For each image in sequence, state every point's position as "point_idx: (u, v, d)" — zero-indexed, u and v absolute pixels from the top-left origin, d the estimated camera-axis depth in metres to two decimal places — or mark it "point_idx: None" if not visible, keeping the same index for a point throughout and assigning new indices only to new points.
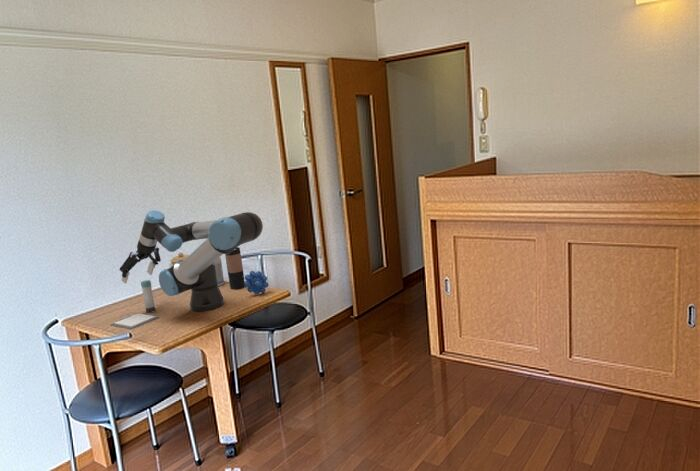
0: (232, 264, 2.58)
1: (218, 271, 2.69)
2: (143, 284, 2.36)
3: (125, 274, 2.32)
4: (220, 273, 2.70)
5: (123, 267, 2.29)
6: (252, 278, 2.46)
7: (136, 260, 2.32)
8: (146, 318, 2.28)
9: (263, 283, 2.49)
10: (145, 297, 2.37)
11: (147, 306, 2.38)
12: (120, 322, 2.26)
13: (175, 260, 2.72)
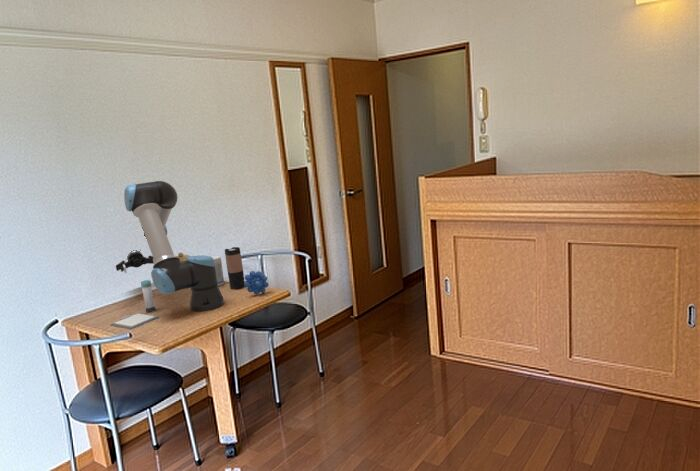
0: (232, 264, 2.58)
1: (218, 271, 2.69)
2: (143, 284, 2.36)
3: (121, 266, 2.46)
4: (220, 273, 2.70)
5: None
6: (252, 278, 2.46)
7: None
8: (146, 318, 2.28)
9: (263, 283, 2.49)
10: (145, 297, 2.37)
11: (147, 306, 2.38)
12: (120, 322, 2.26)
13: None
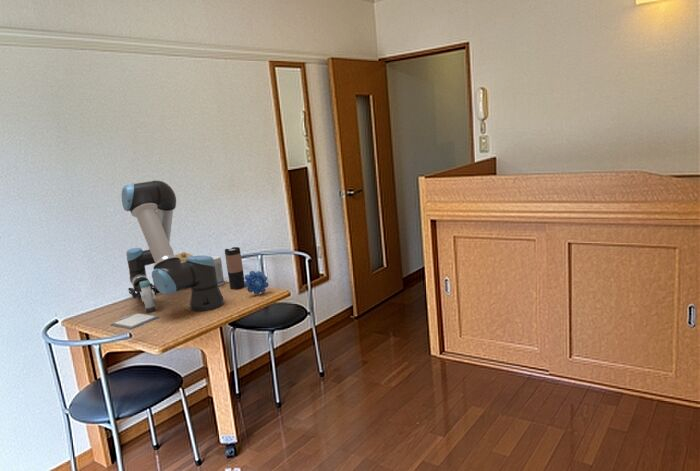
0: (232, 264, 2.58)
1: (218, 271, 2.69)
2: (142, 284, 2.35)
3: (139, 294, 2.38)
4: (220, 273, 2.70)
5: (132, 294, 2.40)
6: (252, 278, 2.46)
7: (138, 289, 2.45)
8: (146, 318, 2.28)
9: (263, 283, 2.49)
10: (144, 297, 2.37)
11: (147, 306, 2.38)
12: (120, 322, 2.26)
13: None
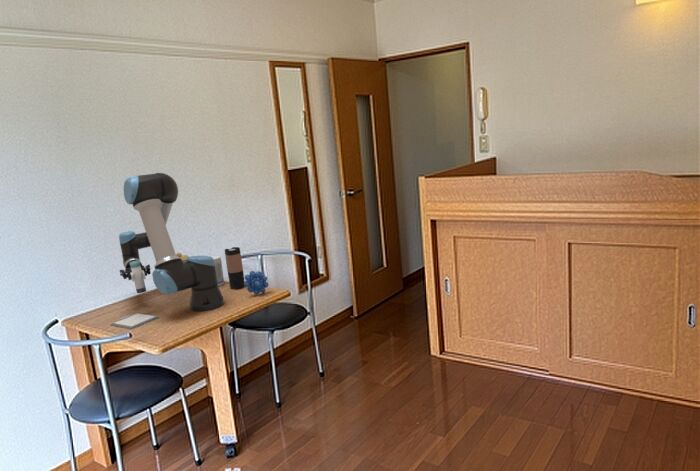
0: (232, 264, 2.58)
1: (218, 271, 2.69)
2: (132, 264, 2.31)
3: (129, 274, 2.33)
4: (220, 273, 2.70)
5: (122, 275, 2.35)
6: (252, 278, 2.46)
7: None
8: (146, 318, 2.28)
9: (263, 283, 2.49)
10: (135, 277, 2.32)
11: (137, 287, 2.33)
12: (120, 322, 2.26)
13: None
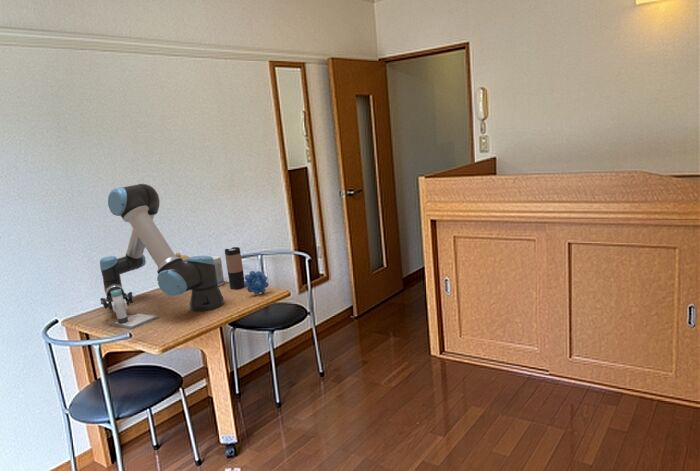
0: (232, 264, 2.58)
1: (218, 271, 2.69)
2: (113, 293, 2.21)
3: (110, 304, 2.23)
4: (220, 273, 2.70)
5: (103, 304, 2.26)
6: (252, 278, 2.46)
7: None
8: (146, 318, 2.28)
9: (263, 283, 2.49)
10: (116, 307, 2.23)
11: (119, 317, 2.23)
12: None
13: None
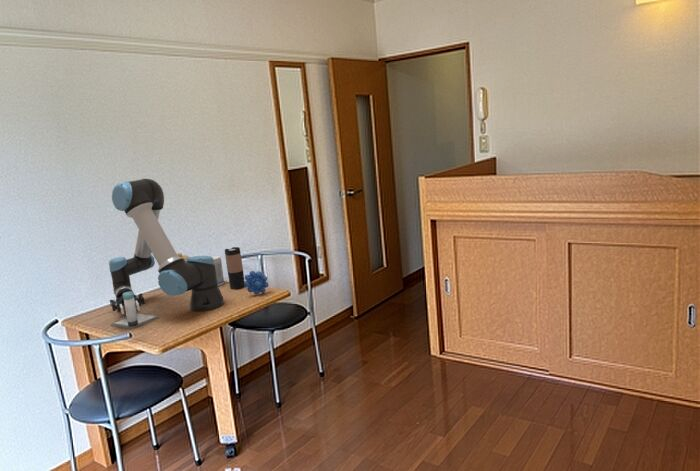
0: (232, 264, 2.58)
1: (218, 271, 2.69)
2: (125, 296, 2.16)
3: (118, 306, 2.19)
4: (220, 273, 2.70)
5: None
6: (252, 278, 2.46)
7: (119, 300, 2.26)
8: (146, 318, 2.28)
9: (263, 283, 2.49)
10: (127, 310, 2.18)
11: (129, 320, 2.19)
12: (120, 322, 2.26)
13: None
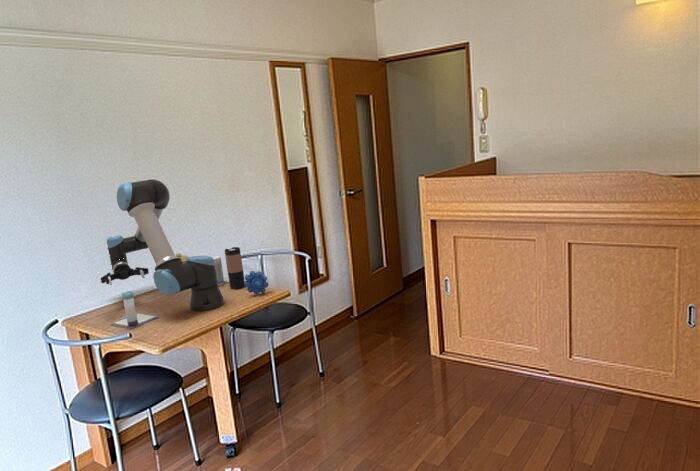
0: (232, 264, 2.58)
1: (218, 271, 2.69)
2: (124, 296, 2.17)
3: (106, 278, 2.34)
4: (220, 273, 2.70)
5: None
6: (252, 278, 2.46)
7: None
8: (146, 318, 2.28)
9: (263, 283, 2.49)
10: (127, 310, 2.18)
11: (129, 320, 2.19)
12: (120, 322, 2.26)
13: None
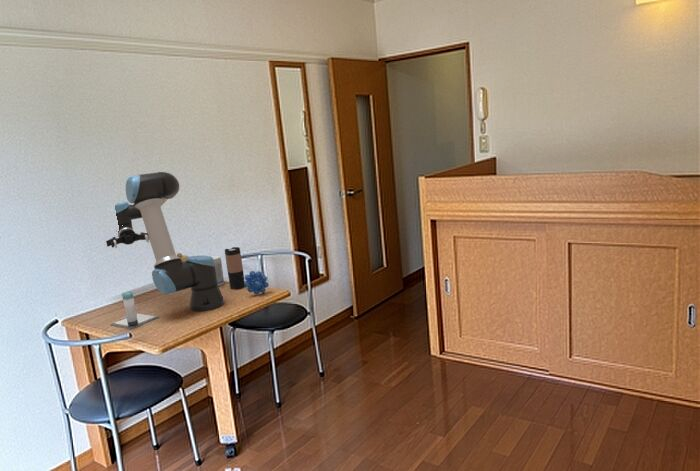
0: (232, 264, 2.58)
1: (218, 271, 2.69)
2: (124, 296, 2.17)
3: (112, 242, 2.38)
4: (220, 273, 2.70)
5: None
6: (252, 278, 2.46)
7: None
8: (146, 318, 2.28)
9: (263, 283, 2.49)
10: (127, 310, 2.18)
11: (129, 320, 2.19)
12: (120, 322, 2.26)
13: None
